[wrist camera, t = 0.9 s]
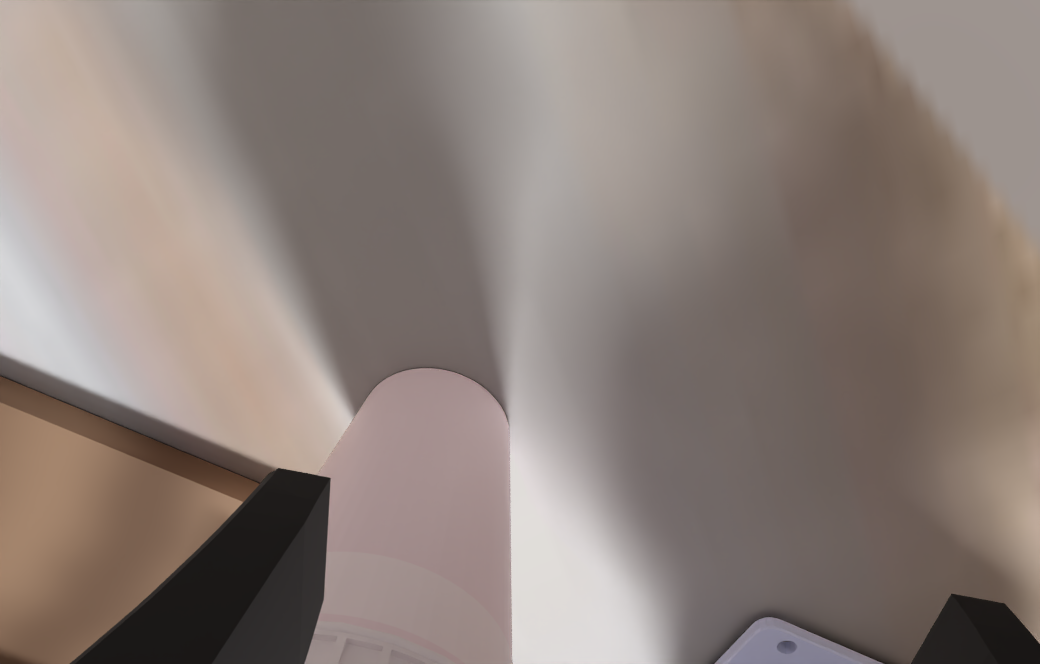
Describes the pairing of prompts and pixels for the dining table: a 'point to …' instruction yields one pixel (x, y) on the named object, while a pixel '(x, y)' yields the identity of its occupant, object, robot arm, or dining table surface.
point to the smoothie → (419, 528)
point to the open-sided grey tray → (91, 522)
